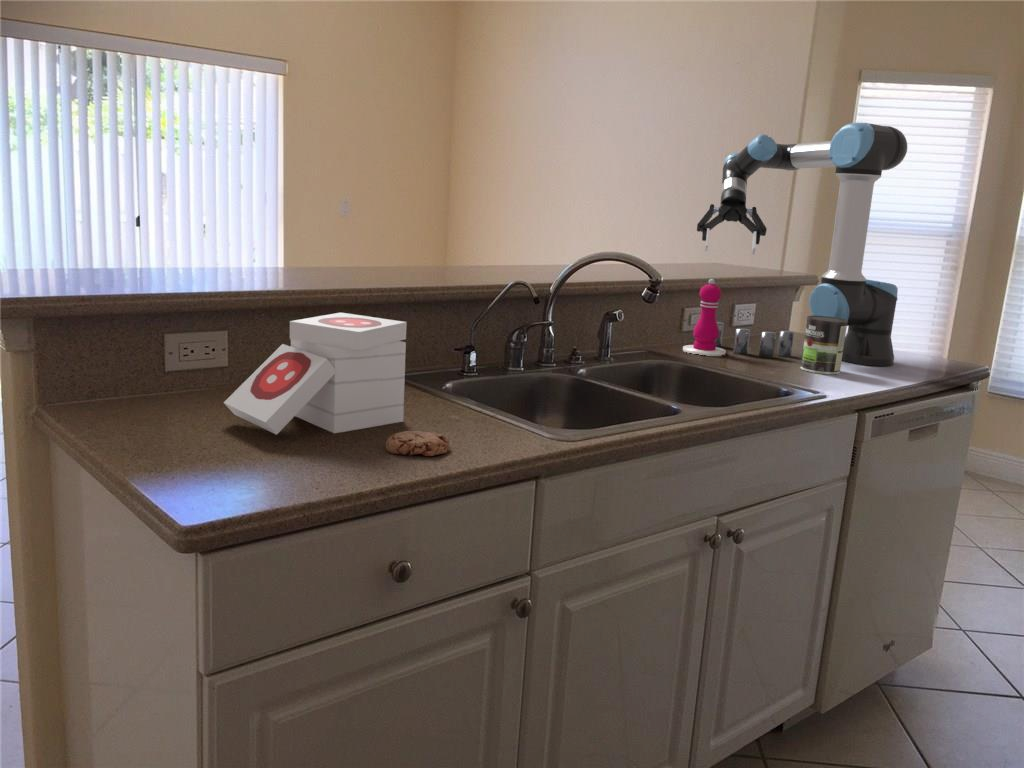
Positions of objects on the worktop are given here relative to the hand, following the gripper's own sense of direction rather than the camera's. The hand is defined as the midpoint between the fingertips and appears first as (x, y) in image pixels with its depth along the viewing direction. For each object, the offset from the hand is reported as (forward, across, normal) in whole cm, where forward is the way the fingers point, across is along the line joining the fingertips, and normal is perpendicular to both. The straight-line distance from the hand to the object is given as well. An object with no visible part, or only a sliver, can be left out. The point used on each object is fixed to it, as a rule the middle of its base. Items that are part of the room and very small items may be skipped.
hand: (730, 249), depth 264 cm
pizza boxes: (+108, +74, +72) cm, 150 cm away
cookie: (+115, +53, +78) cm, 149 cm away
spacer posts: (+25, -9, -15) cm, 31 cm away
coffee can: (+40, -26, 0) cm, 47 cm away
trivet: (+32, +5, -8) cm, 33 cm away
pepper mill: (+31, +5, -8) cm, 32 cm away
